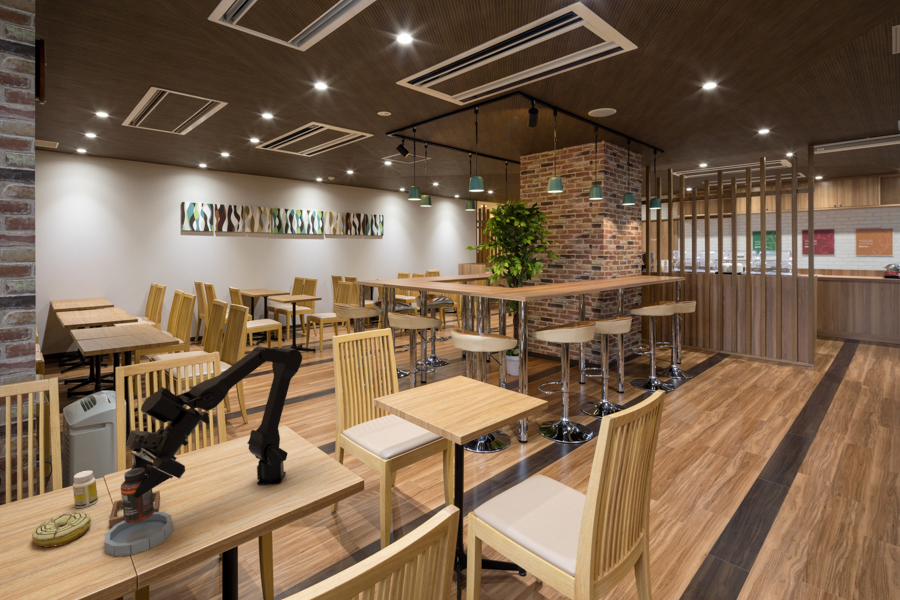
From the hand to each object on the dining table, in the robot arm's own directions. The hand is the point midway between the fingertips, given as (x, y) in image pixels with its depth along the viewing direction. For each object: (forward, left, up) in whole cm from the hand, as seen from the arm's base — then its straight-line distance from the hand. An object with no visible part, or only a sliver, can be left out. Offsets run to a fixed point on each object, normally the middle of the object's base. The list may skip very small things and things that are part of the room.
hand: (130, 492), depth 104 cm
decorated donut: (+18, -4, -12) cm, 22 cm away
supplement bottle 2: (-1, -1, -7) cm, 7 cm away
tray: (+6, -12, -12) cm, 18 cm away
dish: (-1, -1, -12) cm, 12 cm away
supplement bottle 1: (+22, -18, -12) cm, 31 cm away
